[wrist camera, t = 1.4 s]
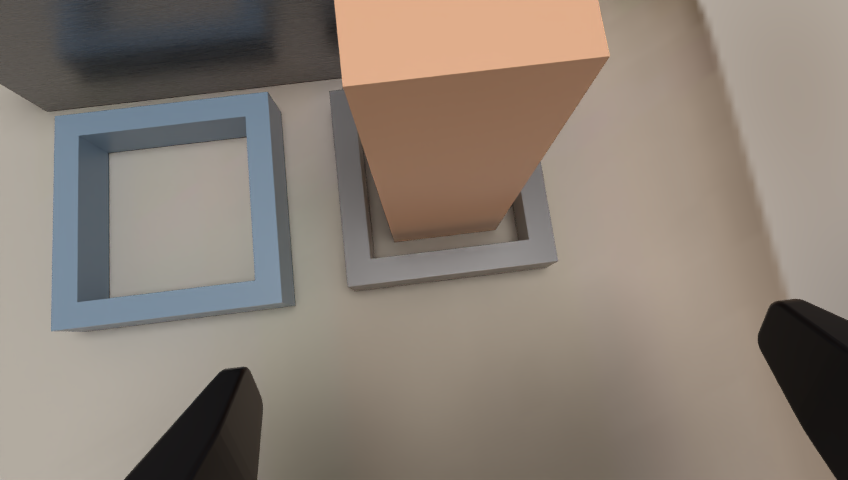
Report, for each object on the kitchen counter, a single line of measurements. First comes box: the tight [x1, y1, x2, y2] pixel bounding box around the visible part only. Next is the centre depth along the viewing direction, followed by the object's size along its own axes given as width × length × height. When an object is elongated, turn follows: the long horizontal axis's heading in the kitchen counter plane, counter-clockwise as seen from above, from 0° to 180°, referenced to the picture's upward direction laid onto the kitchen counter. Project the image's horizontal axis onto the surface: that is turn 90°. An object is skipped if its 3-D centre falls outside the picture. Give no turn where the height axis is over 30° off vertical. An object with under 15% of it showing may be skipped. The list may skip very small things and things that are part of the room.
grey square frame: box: [329, 90, 558, 291], centre depth 21 cm, size 8×8×2 cm
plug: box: [334, 0, 610, 242], centre depth 16 cm, size 5×4×14 cm
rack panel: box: [0, 0, 342, 111], centre depth 20 cm, size 1×24×8 cm, turn 97°
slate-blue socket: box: [51, 92, 295, 332], centre depth 21 cm, size 9×9×2 cm
